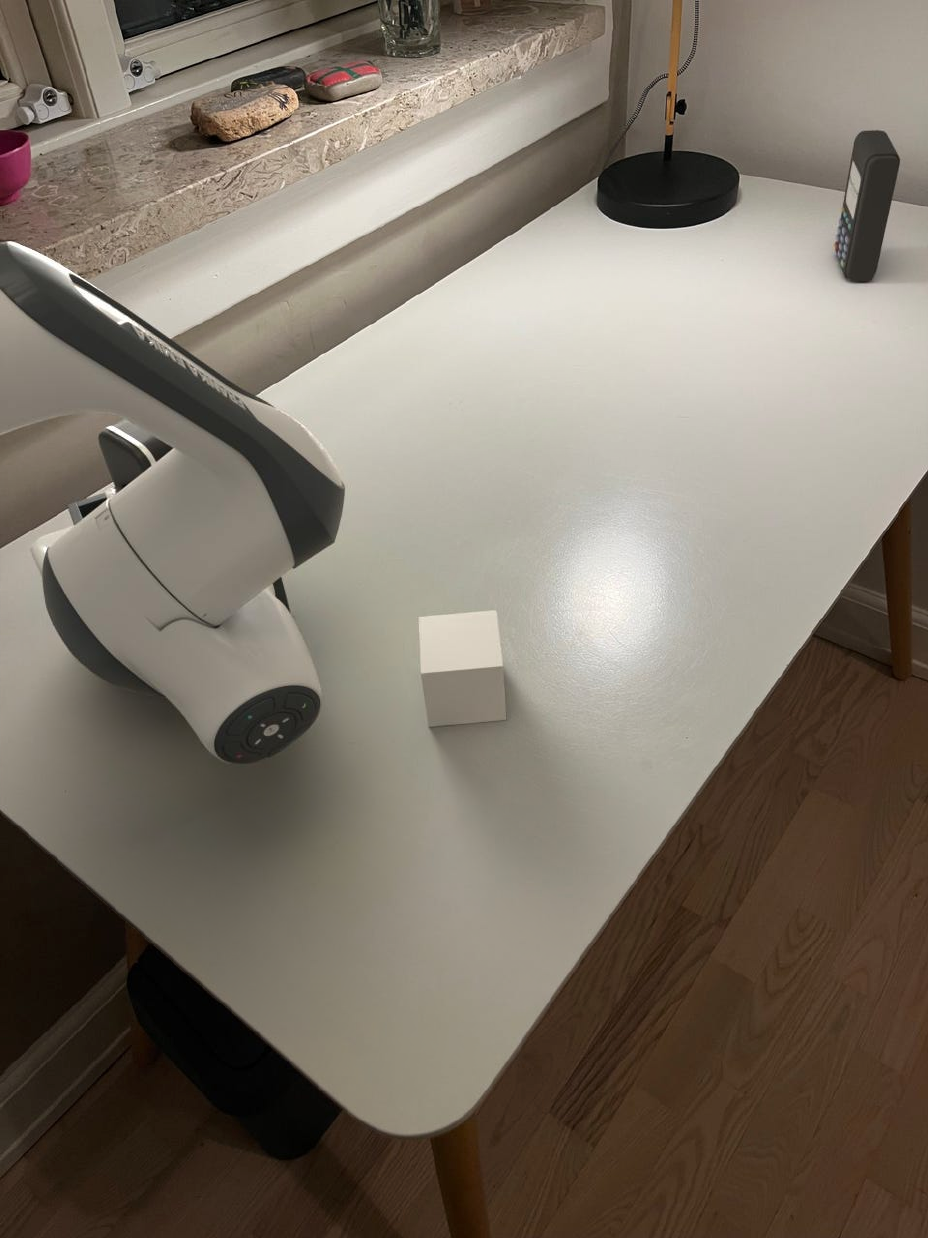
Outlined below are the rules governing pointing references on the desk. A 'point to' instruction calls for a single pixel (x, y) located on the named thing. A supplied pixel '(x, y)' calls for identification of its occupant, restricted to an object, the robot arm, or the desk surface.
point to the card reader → (866, 204)
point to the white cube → (462, 668)
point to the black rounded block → (129, 451)
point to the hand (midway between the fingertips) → (152, 482)
